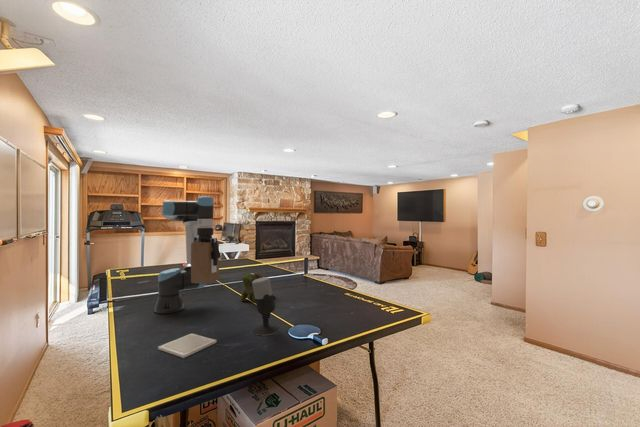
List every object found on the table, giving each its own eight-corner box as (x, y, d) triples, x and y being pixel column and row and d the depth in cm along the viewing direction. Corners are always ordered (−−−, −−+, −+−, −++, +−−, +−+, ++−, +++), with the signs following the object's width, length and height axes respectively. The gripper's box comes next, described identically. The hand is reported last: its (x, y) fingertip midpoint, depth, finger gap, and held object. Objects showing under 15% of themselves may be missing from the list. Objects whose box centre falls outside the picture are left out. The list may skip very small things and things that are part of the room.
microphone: (251, 326, 146) (251, 276, 146) (277, 324, 149) (277, 274, 150) (252, 337, 133) (252, 281, 134) (281, 333, 137) (281, 279, 137)
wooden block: (208, 284, 142) (208, 242, 142) (190, 283, 144) (190, 242, 144) (219, 280, 151) (219, 240, 151) (202, 279, 153) (202, 240, 153)
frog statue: (267, 303, 202) (255, 303, 178) (245, 301, 204) (230, 300, 181) (270, 275, 208) (259, 271, 184) (249, 273, 210) (235, 269, 186)
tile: (158, 349, 121) (158, 346, 121) (191, 335, 135) (191, 332, 135) (183, 358, 114) (183, 355, 114) (216, 342, 128) (216, 339, 128)
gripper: (183, 227, 150) (183, 270, 150) (216, 228, 139) (216, 274, 138) (195, 226, 157) (195, 267, 156) (228, 227, 145) (228, 272, 145)
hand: (205, 271), depth 147 cm, fingers closed on wooden block, 11 cm apart
